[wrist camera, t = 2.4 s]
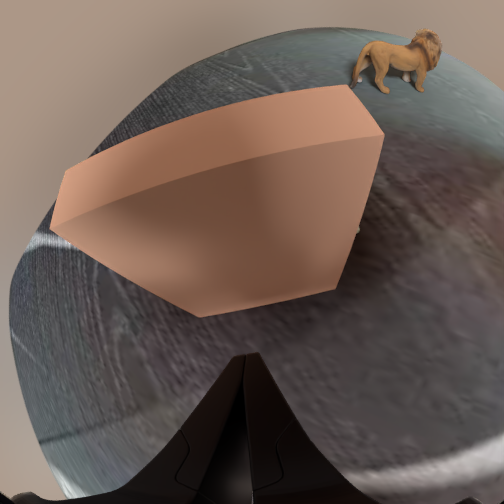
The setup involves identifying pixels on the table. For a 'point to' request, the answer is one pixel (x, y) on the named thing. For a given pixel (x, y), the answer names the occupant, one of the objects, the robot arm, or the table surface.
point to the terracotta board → (230, 200)
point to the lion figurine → (400, 58)
